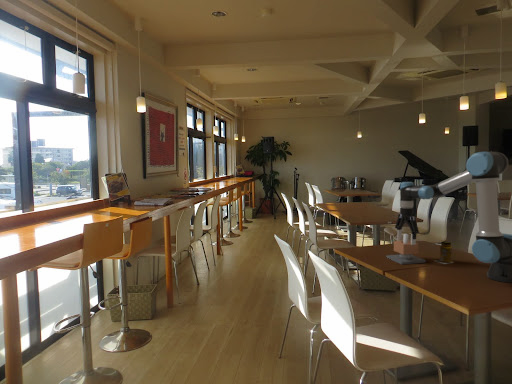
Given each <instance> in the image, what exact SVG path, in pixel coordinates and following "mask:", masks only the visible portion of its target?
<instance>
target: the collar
mask: <svg viewBox="0 0 512 384" xmlns="http://www.w3.org/2000/svg"><path fill="white" fill-rule="evenodd" d="M393 252H396V253H399V254H400V253H401V254H403V255H404V254H412V255H417V254H419V243H418V242H416V245H411V240H409V243H407V244H404V243H403V240H394V241H393Z"/></svg>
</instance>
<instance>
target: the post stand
mask: <svg viewBox="0 0 512 384" xmlns="http://www.w3.org/2000/svg"><path fill="white" fill-rule="evenodd" d="M409 237H410V235H409V234H408V233H402V241H403V243H404V244H407V243H409V241H410V239H409ZM385 256H386V257H387V258H386V257H385V258H386V259H388V258H389V259H388V260H390V259H391V261H393V262H395V263H397V264H400V265H411V264H415V265H416V264H426V262H427V261H426V259H424V258H422V257H418V256H415V255H414V254H404V255H403V254H401V253H399V254H389V255H385Z"/></svg>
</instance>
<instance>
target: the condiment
mask: <svg viewBox="0 0 512 384" xmlns="http://www.w3.org/2000/svg"><path fill="white" fill-rule="evenodd" d="M439 249H440V250H439V251H440V252H439V259H438V260H435V262H437V263H440V264H443V265H447V264H453V263H455V262H454V261H452V249H453V248H452V242H451V241H447V240H445V241H441V244H440V248H439Z"/></svg>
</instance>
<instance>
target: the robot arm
mask: <svg viewBox="0 0 512 384" xmlns="http://www.w3.org/2000/svg"><path fill="white" fill-rule="evenodd" d="M465 165H466V167H465V168H466V170H464V171H462V172H460V173H457V174H455V175H453V176H451V177H449V178H447V179H444V180H442V181H440V182H437V183H436V184H433V185H415V183H414V182H413V181H402V182H401V183H400V186H399V187H400V188H399V195H400V196H399V197H400V199H399V207H400V208H399V213H398V214H397V219H396V222H395V226H394V229H396V231H397V239H396V241H403V227H404V225H405V224H407V225H408V228H409V229H410V231H411V233H410V241H411V245H416V243H417V234H419V233H420V230H419V227H418V223H417V221H416V216H412V215H413V214H414V199H420V200H431V199H439V198H443V197H445V196H446V195H447V194H449V193H451V192H454V191H456V190H458V189H461V188H463V187H466V186H468V185H471V184H474V183H475V189H476V191H475V192H476V203H477V206H476V207H477V221H478V222H477V223H478V232H477V233H475V241H474V242H473V244H472V246H471V251H472V254H473V256H474V257H475V258H476V259H477V261H479V262H482V263H485V264H489V263H490V266H488V267H489V268H488V270H487V272H486V277H487V278H489V279H491V280H492V281H493V280H494V281H497V282H502V283H511V284H512V234H510V233H503V232H502V231H500V220H499V219H500V218H499V205H498V204H499V203H498V189H497V188H498V187H497V182H498V181H499V180H500V175H501V174H504V173H505V172H506V171H507V169H508V168H509V159H508V157H507V156H506V155H505V154H504V153H502V152H498V151H478V152H475V153H473V154H472V155H470V156H469V158H468V159H467V160H466V164H465Z"/></svg>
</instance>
